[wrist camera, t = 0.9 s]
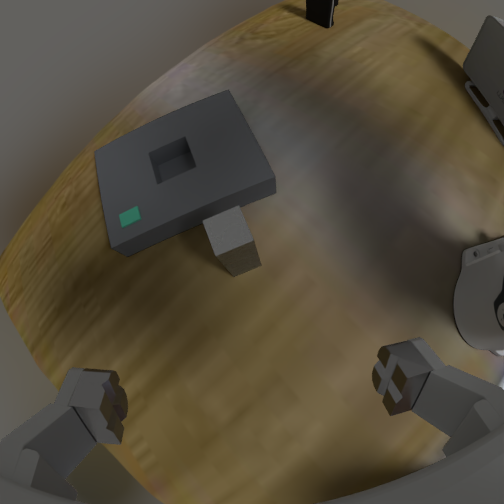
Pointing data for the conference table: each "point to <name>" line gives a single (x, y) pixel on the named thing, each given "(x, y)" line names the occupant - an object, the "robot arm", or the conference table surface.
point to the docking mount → (180, 173)
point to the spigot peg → (232, 241)
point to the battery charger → (321, 11)
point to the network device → (488, 70)
